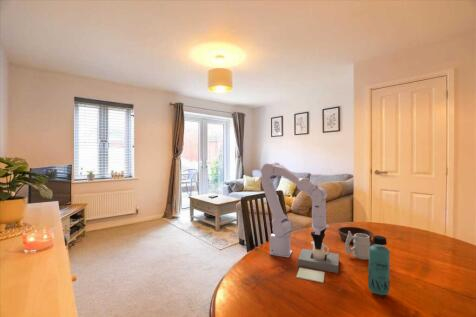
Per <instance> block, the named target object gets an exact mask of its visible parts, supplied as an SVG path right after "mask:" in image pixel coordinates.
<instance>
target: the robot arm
mask: <svg viewBox="0 0 476 317" xmlns="http://www.w3.org/2000/svg"><path fill="white" fill-rule="evenodd" d="M260 173H261V179H260V180H261V181H260V182H261V186H262V188H263V192H264V195H265V198H266V200H267V203H268V206H269V209H270V213H271V215H272V220H271V226H272V233H271V234H270V237H269V255H270V256H277V257H284V258H290V257H291V255H292V252H293V250H291V231H292V229H293V224H292V222H291V220H290V219H289V217H288V216H287V214H285V213H284V211H283V208H282V205H281V203H280V199H279V195H278V194H277V191H276V188H275V186H274V181H275V180H276V178H277V177H283V178H285V179H287V180H288V181H290V182H292V183H294V184H295V185H296V189H298V190H300V191H301V192H302V193H304V194H306V195H307V196H309V198H310V200H311V227H312V229H313V230H314V231H310V235H311V238H312V239H313V242H314V245H315V249H318V250H321V246H322V242H324V238H325V236H326V234H325V233H326V230H327V229H329V228H330V227H329V226H330V225H327V204H326V203H327V202H326V200H327V199H326V198H327V197H328V191H327V188H325V187H324V186H319V184H318V183H317V184H315V183H313V181H310V178H308V177H306V178H305V177H302V178H301V177H300V176H298V175H296V174H295V173H293V171H290V170H289V169H288V168H286V167H285V166H284V165H283V164H280V163H279V162H273V163H272V162H271V163H267V162H266V163H264V164H262V167H261V169H260Z"/></svg>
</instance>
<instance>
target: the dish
mask: <svg viewBox="0 0 476 317" xmlns="http://www.w3.org/2000/svg"><path fill="white" fill-rule="evenodd" d="M348 231H350V232H351V234H352V236H354V234H356V233H362V234H366V235H368V236H369V237H370V246H372V245H373V240H371V239H373V236H375V235H374V233H373V232H372V231H371V230H368V229H366V228H362V227H356V226H342V227H339V228H337V232H338V234H339V236H340V239H342V240H344V241H345V242H346V239H347V236H348ZM353 240H354V239H351V241H350V243H351V244H354V242H353ZM350 243H349V244H350Z"/></svg>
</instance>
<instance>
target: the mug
mask: <svg viewBox="0 0 476 317" xmlns="http://www.w3.org/2000/svg"><path fill="white" fill-rule="evenodd" d="M351 239H354V240H353V242H354V243H353V246H352V247H350V241H351ZM370 246H371V245H370V237H369V236H368V235H366V234H362V233H356V234H354V236H352V234H351V232H350V231H348V236H347V239H346V241H345V242H344V249H345V251H346V254H347V255H351V253H352V255H353V257H354V258H356V259H360V260H364V261H365V260H369V247H370Z"/></svg>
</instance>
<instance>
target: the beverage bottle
mask: <svg viewBox="0 0 476 317" xmlns="http://www.w3.org/2000/svg"><path fill="white" fill-rule="evenodd" d="M373 243H374V244H373ZM390 255H391V251H390V250H389V249H388V247H387V238H386V237H385V236H383V235H373V237H372V245H370V247H369V259H368V269H367V272H368V274H367V287H368V289H369V291H371V292H372V293H374V294H377V295H379V296H386V295H388V294H389V293H390V289H391V283H390V282H391V281H390V276H391V275H390V269H391V268H390V267H391V264H390V262H391V261H390V260H391V259H390Z"/></svg>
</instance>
